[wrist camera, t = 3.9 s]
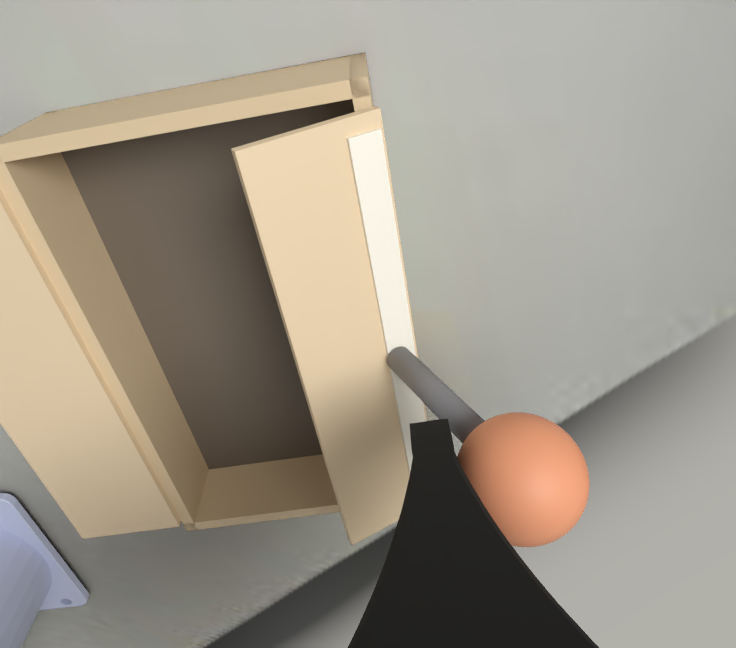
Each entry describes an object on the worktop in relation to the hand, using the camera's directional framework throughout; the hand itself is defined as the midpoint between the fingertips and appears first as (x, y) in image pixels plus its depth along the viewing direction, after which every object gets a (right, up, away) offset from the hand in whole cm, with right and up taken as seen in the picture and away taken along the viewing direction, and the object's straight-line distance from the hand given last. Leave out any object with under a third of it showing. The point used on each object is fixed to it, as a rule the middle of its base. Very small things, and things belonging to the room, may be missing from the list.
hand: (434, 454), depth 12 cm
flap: (-1, +2, +3) cm, 4 cm away
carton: (-7, +3, +7) cm, 10 cm away
